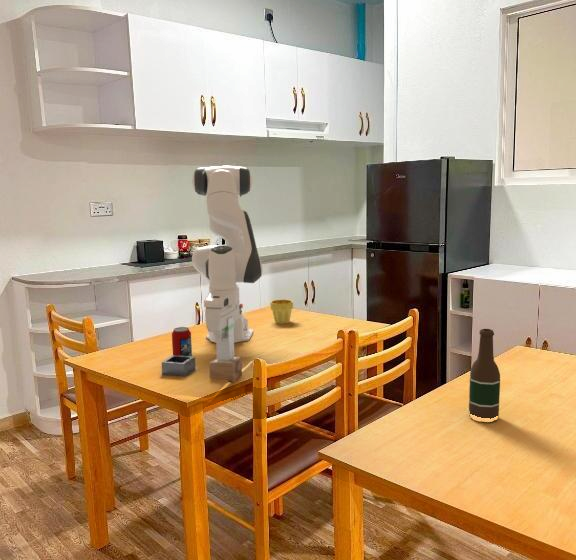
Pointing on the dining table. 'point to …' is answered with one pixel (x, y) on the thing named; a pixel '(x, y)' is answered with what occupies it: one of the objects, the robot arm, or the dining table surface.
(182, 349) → the beverage can
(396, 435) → the dining table surface
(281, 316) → the plant pot
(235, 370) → the pedestal
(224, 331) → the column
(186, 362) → the grey square bin
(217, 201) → the robot arm
